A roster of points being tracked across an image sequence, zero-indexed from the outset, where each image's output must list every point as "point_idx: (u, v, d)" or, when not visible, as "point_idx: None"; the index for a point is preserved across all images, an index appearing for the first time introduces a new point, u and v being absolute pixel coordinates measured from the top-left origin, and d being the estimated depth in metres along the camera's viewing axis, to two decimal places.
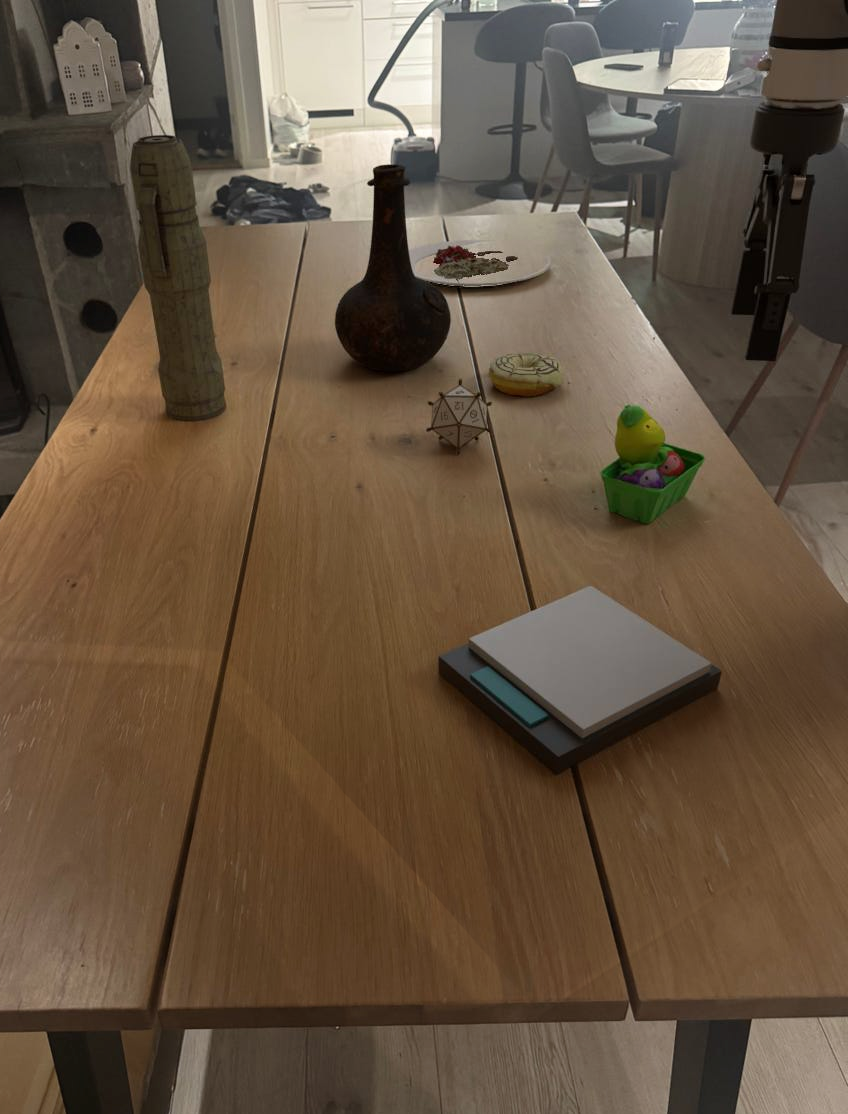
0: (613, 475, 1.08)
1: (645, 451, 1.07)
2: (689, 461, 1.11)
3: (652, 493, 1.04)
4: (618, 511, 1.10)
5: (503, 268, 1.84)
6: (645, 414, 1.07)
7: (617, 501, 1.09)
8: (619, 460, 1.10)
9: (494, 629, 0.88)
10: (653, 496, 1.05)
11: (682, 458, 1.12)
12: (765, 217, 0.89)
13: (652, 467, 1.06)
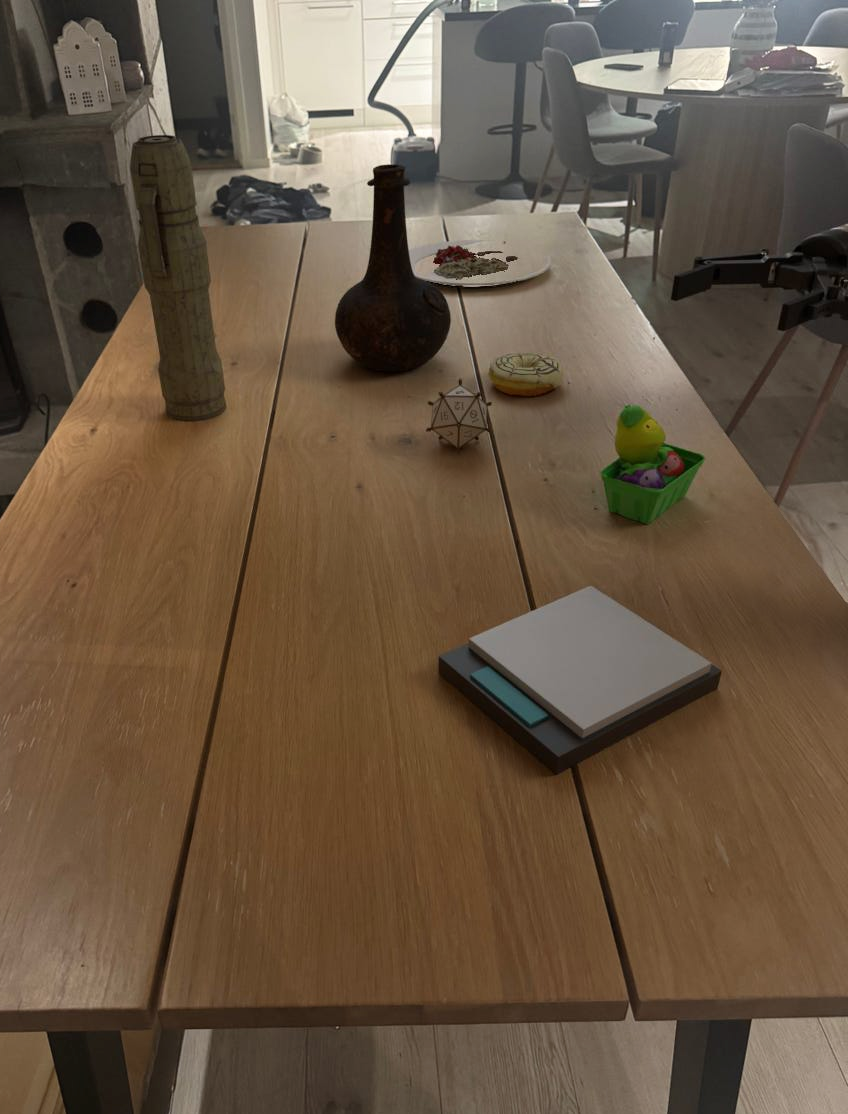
0: (613, 475, 1.08)
1: (645, 451, 1.07)
2: (689, 461, 1.11)
3: (652, 493, 1.04)
4: (618, 511, 1.10)
5: (503, 268, 1.84)
6: (645, 414, 1.07)
7: (617, 501, 1.09)
8: (619, 460, 1.10)
9: (494, 629, 0.88)
10: (653, 496, 1.05)
11: (682, 458, 1.12)
12: (823, 269, 1.07)
13: (652, 467, 1.06)
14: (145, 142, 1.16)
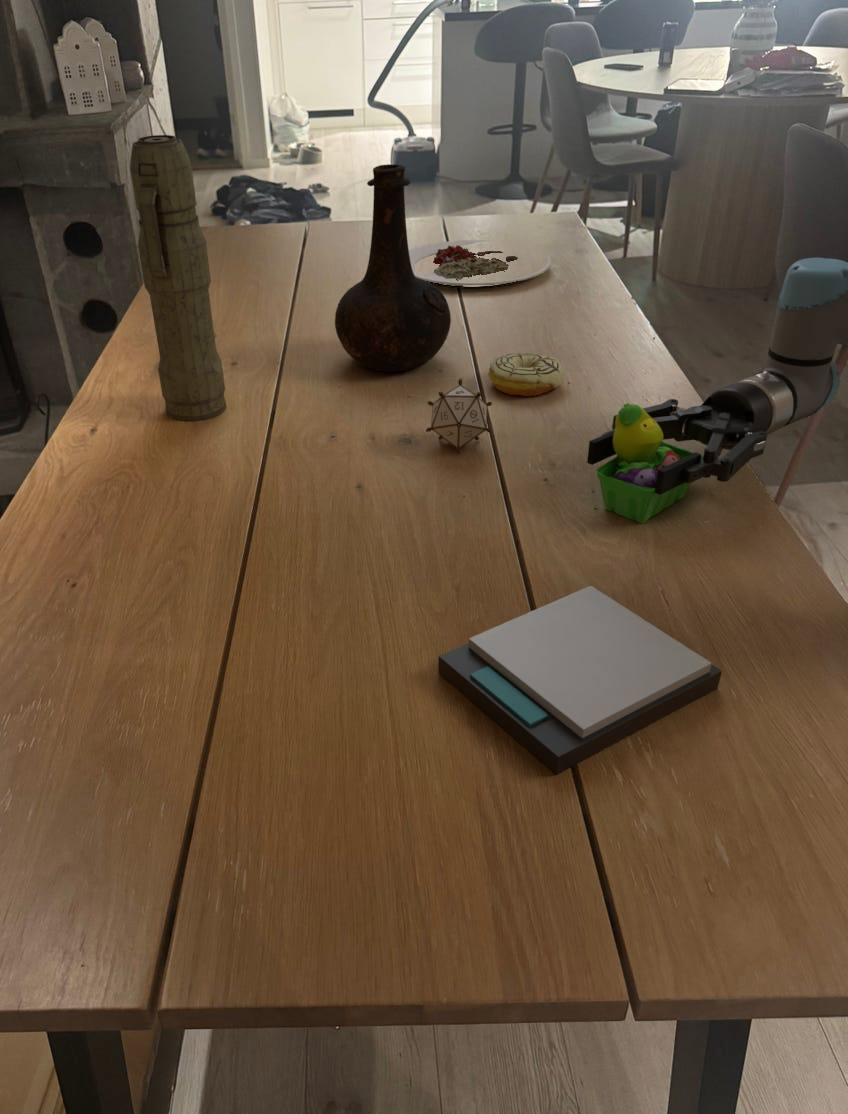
0: (609, 473, 1.09)
1: (642, 450, 1.07)
2: None
3: (645, 492, 1.04)
4: (614, 509, 1.10)
5: (503, 268, 1.84)
6: (643, 413, 1.07)
7: (613, 499, 1.09)
8: (617, 458, 1.10)
9: (494, 629, 0.88)
10: (646, 495, 1.05)
11: (682, 458, 1.12)
12: (720, 428, 1.10)
13: (648, 466, 1.07)
14: (145, 142, 1.16)
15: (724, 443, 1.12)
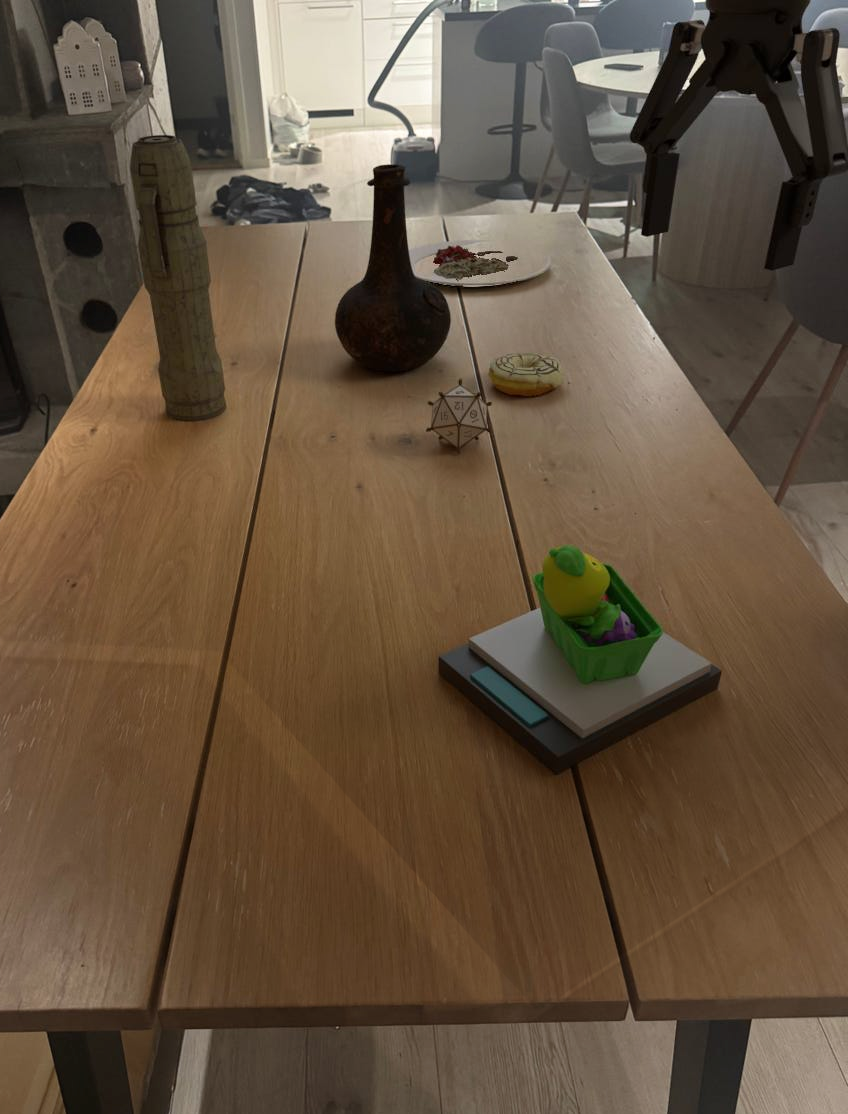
0: (584, 641, 0.79)
1: None
2: None
3: (657, 637, 0.78)
4: (597, 678, 0.81)
5: (503, 268, 1.84)
6: None
7: (599, 667, 0.80)
8: (566, 619, 0.80)
9: (494, 629, 0.88)
10: (656, 640, 0.79)
11: None
12: None
13: (619, 607, 0.80)
14: (145, 142, 1.16)
15: None
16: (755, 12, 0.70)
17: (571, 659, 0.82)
